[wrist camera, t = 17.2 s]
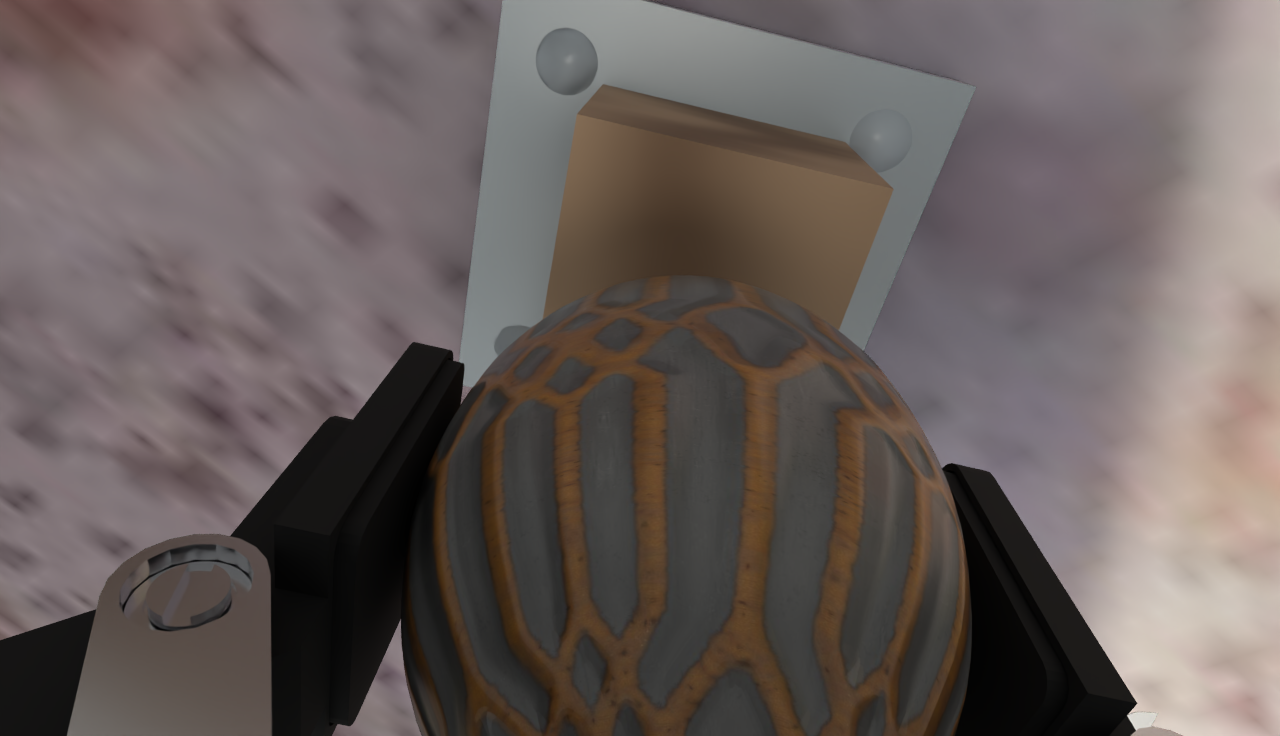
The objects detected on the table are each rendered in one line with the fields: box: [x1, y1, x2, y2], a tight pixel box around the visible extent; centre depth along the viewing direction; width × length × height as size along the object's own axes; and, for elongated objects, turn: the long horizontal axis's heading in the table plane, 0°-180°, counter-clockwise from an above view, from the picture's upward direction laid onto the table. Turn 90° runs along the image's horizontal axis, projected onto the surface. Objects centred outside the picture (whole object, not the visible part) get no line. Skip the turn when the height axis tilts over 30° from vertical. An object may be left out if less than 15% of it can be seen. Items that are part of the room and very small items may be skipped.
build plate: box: [459, 0, 976, 388], centre depth 21 cm, size 12×12×2 cm
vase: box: [401, 275, 972, 736], centre depth 9 cm, size 7×7×9 cm
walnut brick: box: [543, 84, 894, 330], centre depth 18 cm, size 6×8×5 cm
